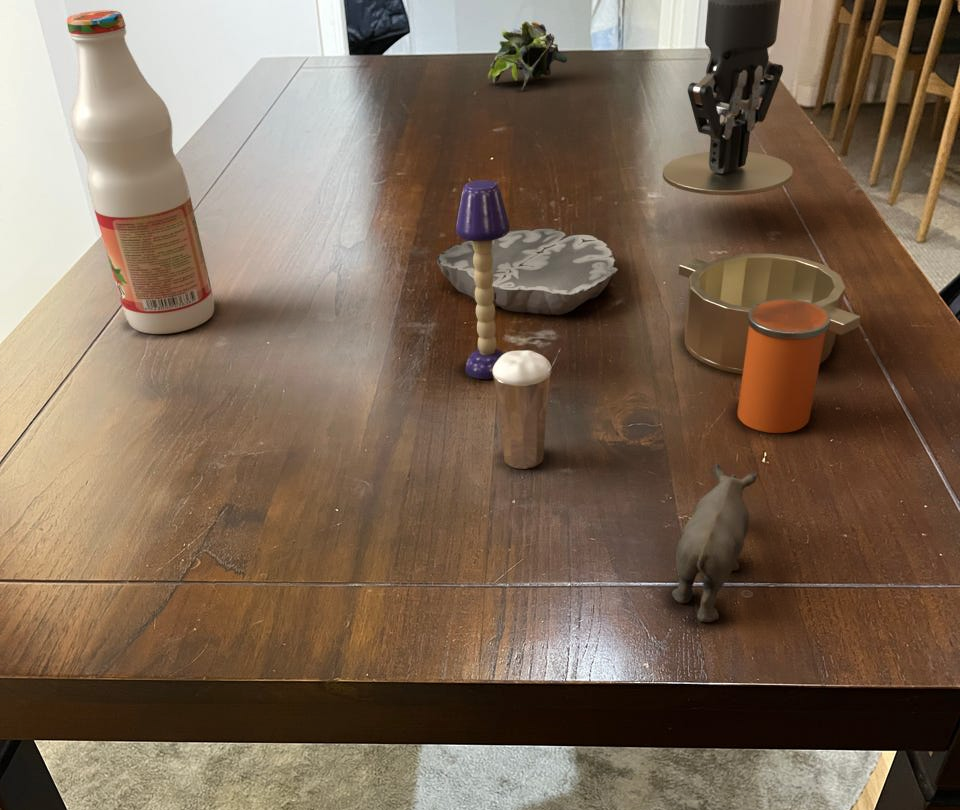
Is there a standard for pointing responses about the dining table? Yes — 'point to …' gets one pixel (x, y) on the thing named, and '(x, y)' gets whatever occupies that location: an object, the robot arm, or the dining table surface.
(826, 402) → the dining table surface
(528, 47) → the green leafy plant
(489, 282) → the toy lamp
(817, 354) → the small canister
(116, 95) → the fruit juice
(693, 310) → the pot
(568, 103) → the dining table surface
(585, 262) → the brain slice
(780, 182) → the lid
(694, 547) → the rhino figurine
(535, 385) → the milkshake
